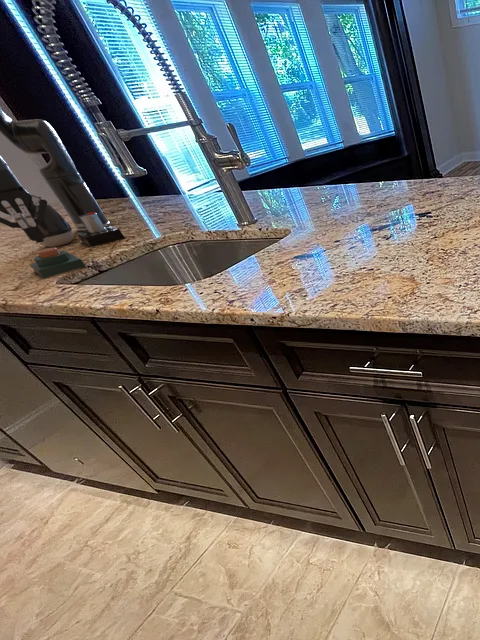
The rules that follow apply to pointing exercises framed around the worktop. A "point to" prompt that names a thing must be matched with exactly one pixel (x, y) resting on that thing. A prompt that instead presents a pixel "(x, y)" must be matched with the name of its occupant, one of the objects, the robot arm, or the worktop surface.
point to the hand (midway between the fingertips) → (39, 241)
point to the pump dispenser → (52, 227)
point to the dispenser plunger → (48, 252)
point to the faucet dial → (92, 222)
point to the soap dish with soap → (56, 264)
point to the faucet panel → (100, 236)
